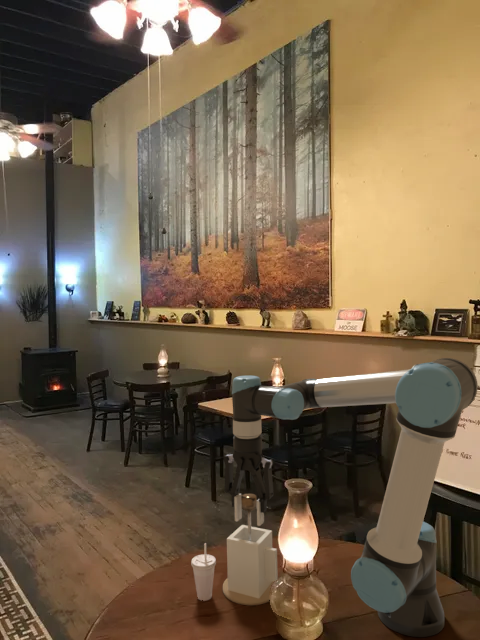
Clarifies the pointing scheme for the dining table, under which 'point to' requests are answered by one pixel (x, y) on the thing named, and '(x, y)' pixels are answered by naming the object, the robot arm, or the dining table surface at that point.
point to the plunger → (249, 509)
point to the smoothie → (204, 574)
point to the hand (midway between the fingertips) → (249, 521)
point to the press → (250, 566)
